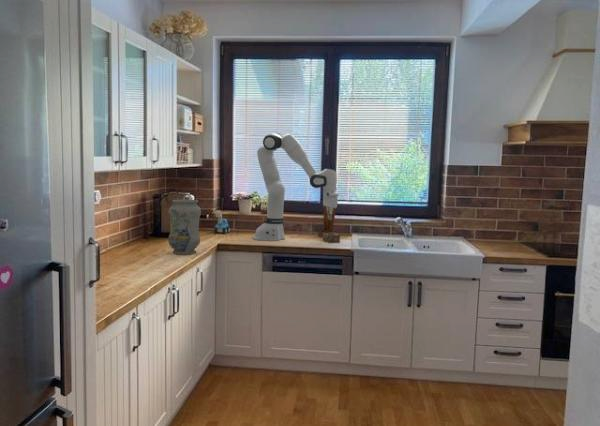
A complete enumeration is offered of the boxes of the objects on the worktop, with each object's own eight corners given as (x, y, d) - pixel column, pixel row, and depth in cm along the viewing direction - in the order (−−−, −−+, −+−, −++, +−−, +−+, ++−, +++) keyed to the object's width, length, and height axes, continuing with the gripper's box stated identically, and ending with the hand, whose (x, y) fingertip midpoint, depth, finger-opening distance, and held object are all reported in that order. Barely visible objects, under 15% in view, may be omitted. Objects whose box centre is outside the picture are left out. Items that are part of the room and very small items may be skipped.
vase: (174, 249, 291) (174, 198, 288) (204, 250, 289) (205, 199, 286) (163, 254, 273) (163, 200, 270) (195, 256, 271) (195, 201, 268)
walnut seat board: (327, 242, 331) (327, 235, 331) (322, 240, 341) (322, 232, 340) (339, 242, 334) (340, 235, 333) (334, 239, 343) (335, 232, 343)
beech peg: (328, 220, 332) (328, 205, 331) (326, 219, 335) (326, 204, 334) (332, 219, 333) (332, 205, 332) (331, 219, 336) (331, 204, 335)
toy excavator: (210, 234, 350) (210, 210, 348) (219, 231, 366) (219, 208, 364) (222, 235, 348) (222, 211, 346) (230, 232, 364) (230, 208, 362)
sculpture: (316, 235, 360) (318, 194, 357) (327, 235, 364) (329, 194, 361) (324, 238, 348) (326, 195, 345) (336, 237, 352) (337, 195, 349)
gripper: (320, 192, 341) (320, 212, 343) (330, 194, 322) (329, 215, 323) (329, 192, 343) (329, 211, 344) (339, 194, 323) (338, 215, 325)
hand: (329, 213), depth 334 cm, fingers closed on beech peg, 3 cm apart
